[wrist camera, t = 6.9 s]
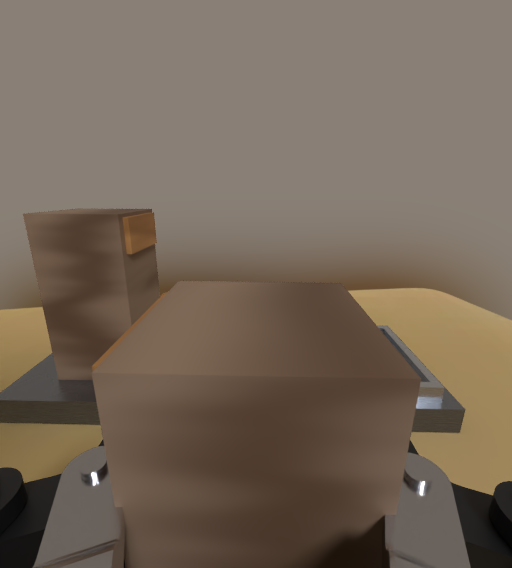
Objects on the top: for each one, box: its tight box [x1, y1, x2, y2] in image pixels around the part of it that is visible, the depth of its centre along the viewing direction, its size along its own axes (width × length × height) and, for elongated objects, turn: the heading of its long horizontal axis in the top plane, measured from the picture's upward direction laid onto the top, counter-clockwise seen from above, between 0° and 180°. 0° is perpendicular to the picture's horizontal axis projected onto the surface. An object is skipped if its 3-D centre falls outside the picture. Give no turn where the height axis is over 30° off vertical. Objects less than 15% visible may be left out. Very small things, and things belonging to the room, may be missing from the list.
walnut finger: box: [92, 281, 421, 568], centre depth 8 cm, size 5×5×10 cm
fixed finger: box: [23, 209, 160, 380], centre depth 20 cm, size 5×5×10 cm
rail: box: [0, 326, 465, 432], centre depth 21 cm, size 26×9×2 cm, turn 89°
